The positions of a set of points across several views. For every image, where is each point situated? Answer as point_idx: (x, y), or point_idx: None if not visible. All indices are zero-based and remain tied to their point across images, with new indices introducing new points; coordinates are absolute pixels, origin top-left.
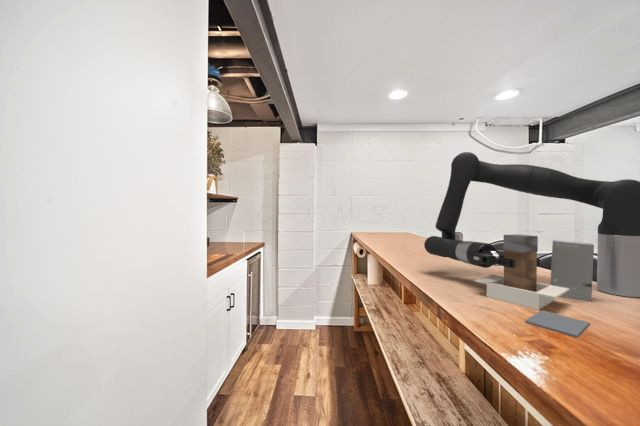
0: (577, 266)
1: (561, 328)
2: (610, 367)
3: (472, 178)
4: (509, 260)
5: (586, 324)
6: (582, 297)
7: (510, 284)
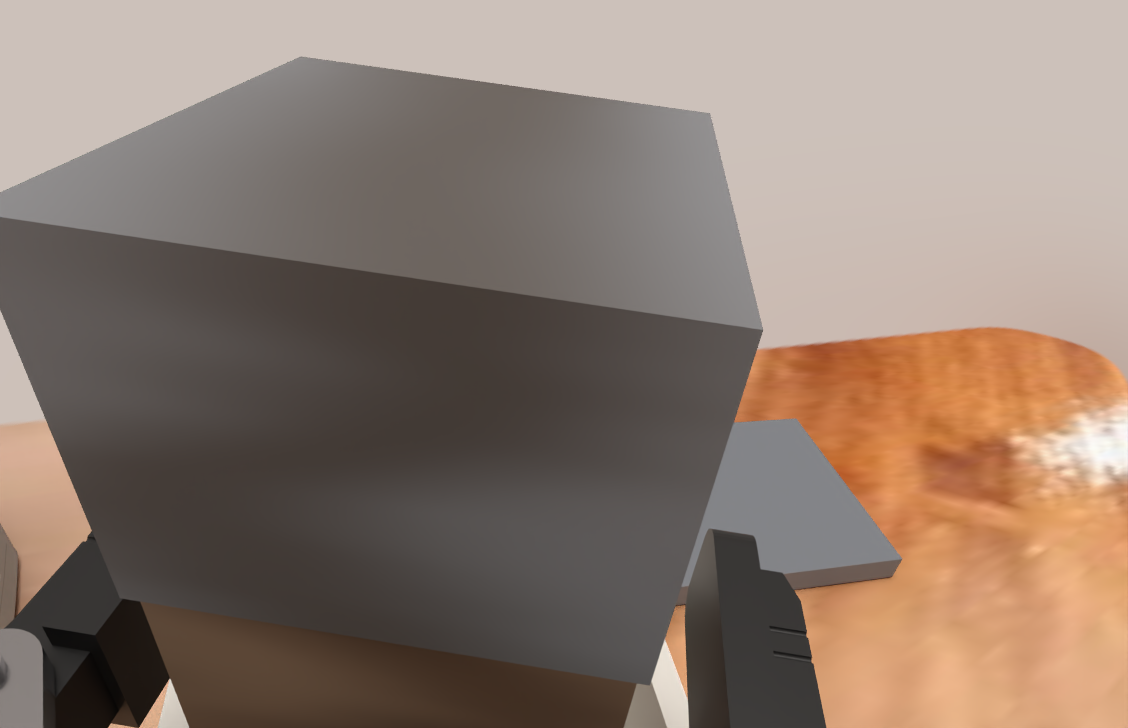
0: None
1: (794, 458)
2: (859, 365)
3: None
4: (753, 587)
5: None
6: (3, 565)
7: None
